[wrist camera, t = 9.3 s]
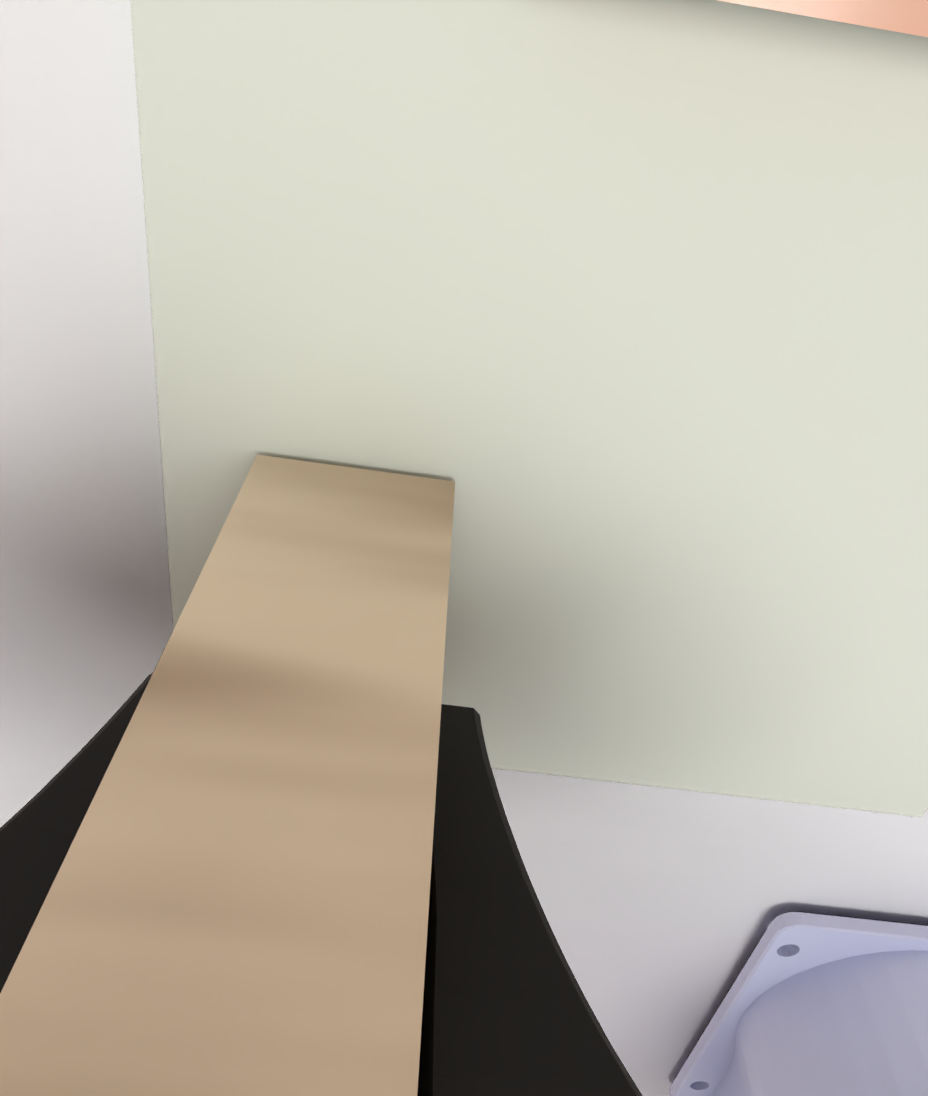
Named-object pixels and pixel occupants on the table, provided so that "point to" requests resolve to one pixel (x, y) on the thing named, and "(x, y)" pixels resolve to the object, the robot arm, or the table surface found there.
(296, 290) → the sage mat
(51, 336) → the table surface
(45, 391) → the table surface
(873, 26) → the peach teal block
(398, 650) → the tan wood plank
